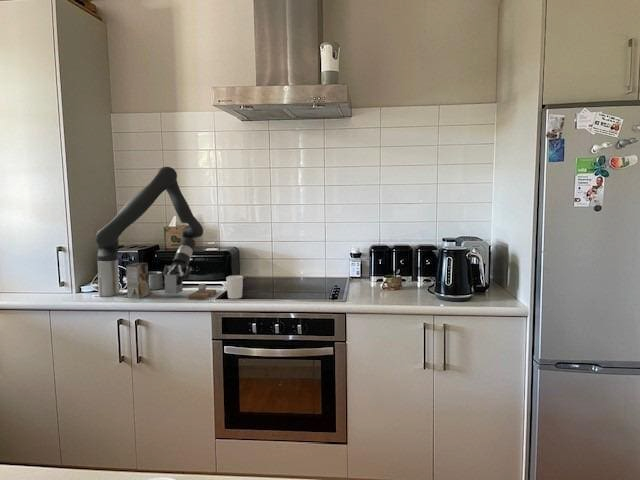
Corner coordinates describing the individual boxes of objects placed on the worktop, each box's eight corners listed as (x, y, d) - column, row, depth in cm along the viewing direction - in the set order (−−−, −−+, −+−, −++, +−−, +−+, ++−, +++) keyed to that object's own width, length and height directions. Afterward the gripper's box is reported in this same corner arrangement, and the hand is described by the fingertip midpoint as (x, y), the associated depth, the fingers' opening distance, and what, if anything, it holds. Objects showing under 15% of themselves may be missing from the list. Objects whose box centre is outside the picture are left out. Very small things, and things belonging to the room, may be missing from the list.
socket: (164, 293, 216) (164, 274, 215) (171, 290, 222) (170, 272, 221) (176, 293, 215) (176, 275, 214) (182, 291, 221) (182, 273, 220)
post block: (204, 299, 212) (203, 287, 211) (188, 299, 213) (187, 286, 213) (216, 293, 226) (215, 281, 225) (201, 293, 227) (200, 281, 226)
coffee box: (138, 294, 225) (137, 262, 224) (149, 294, 224) (148, 262, 222) (127, 298, 216) (125, 265, 215) (139, 298, 215) (137, 265, 213)
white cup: (235, 294, 223) (234, 274, 222) (246, 296, 218) (246, 276, 217) (223, 297, 216) (222, 277, 215) (234, 300, 212) (234, 279, 211)
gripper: (167, 251, 225) (155, 279, 215) (194, 252, 223) (183, 280, 212) (172, 260, 231) (161, 287, 221) (198, 261, 229) (188, 289, 218)
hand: (172, 283), depth 216 cm, fingers closed on socket, 6 cm apart
